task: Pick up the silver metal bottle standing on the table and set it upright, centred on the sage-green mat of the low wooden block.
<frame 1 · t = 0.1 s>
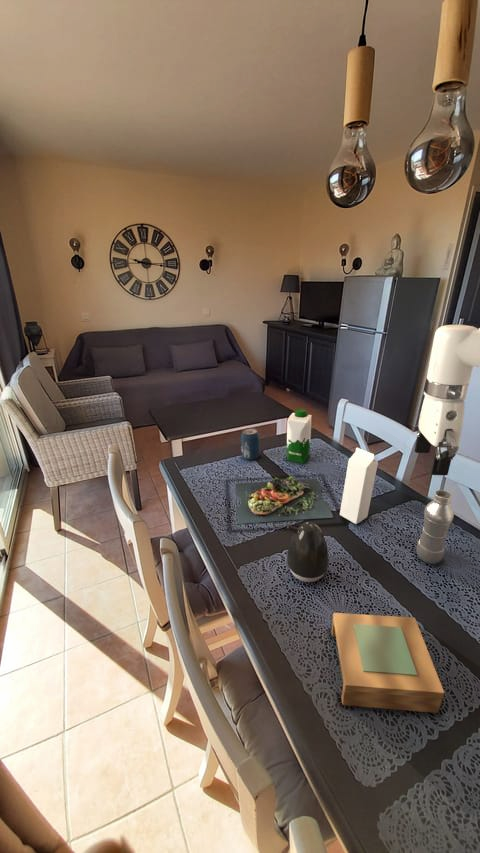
hand: (429, 462, 80), 30 cm above the table, tool pointing down, fingers open, 9 cm apart
silver metal bottle: (427, 558, 94), on the table
wooden block: (378, 669, 69), on the table
milk carton: (297, 459, 145), on the table
soda can: (250, 458, 146), on the table
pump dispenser: (306, 573, 91), on the table
plated dish: (280, 501, 119), on the table, touching milk
milk: (353, 516, 110), on the table, touching plated dish
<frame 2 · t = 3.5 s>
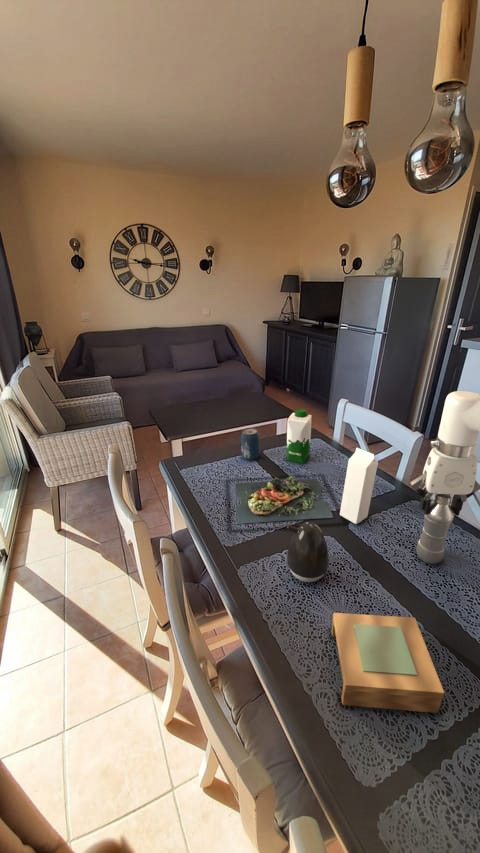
hand: (439, 511, 88), 15 cm above the table, tool pointing down, fingers closed on silver metal bottle, 6 cm apart
silver metal bottle: (427, 558, 94), on the table, touching gripper
everything else where it was.
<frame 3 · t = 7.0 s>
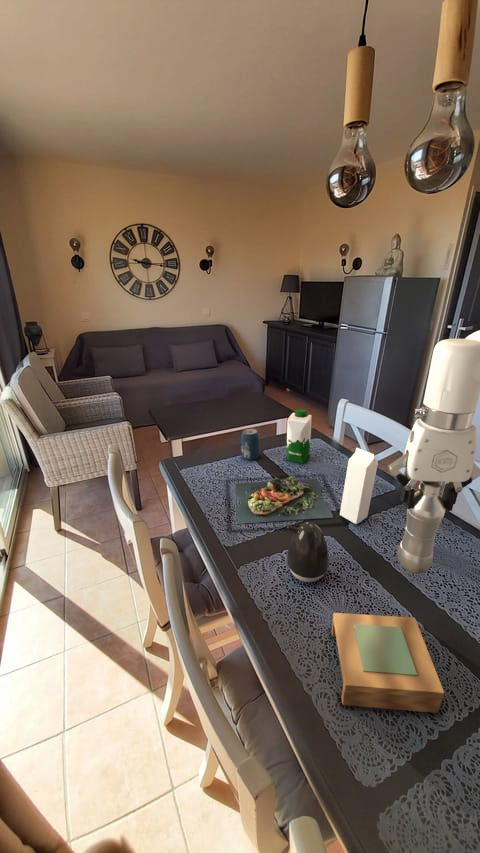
hand: (426, 504, 67), 30 cm above the table, tool pointing down, fingers closed on silver metal bottle, 6 cm apart
silver metal bottle: (412, 566, 73), point 15 cm above the table, touching gripper
everything else where it was.
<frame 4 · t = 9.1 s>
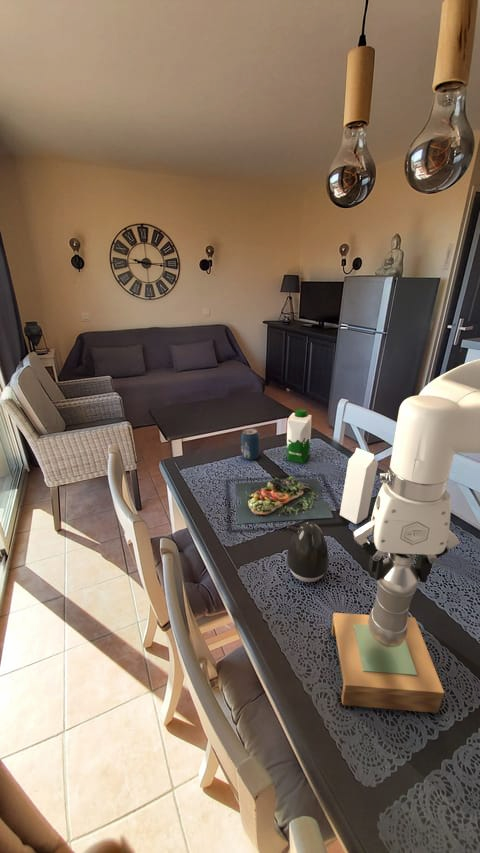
hand: (397, 573, 59), 24 cm above the table, tool pointing down, fingers closed on silver metal bottle, 6 cm apart
silver metal bottle: (385, 636, 65), point 9 cm above the table, touching gripper
everything else where it was.
when the fingers open (21 cm above the table, at t = 10.5 s): silver metal bottle stays where it is, resting on wooden block.
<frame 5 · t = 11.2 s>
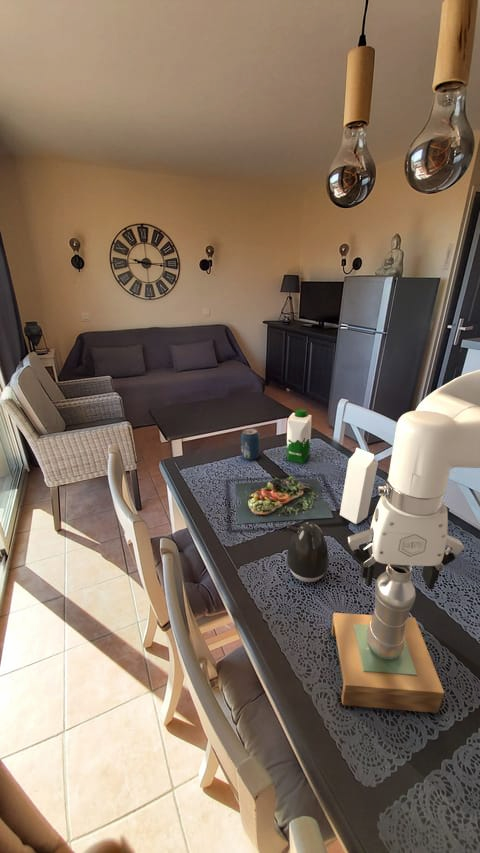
hand: (396, 580, 60), 23 cm above the table, tool pointing down, fingers open, 9 cm apart
silver metal bottle: (383, 647, 67), point 6 cm above the table, touching wooden block
everything else where it was.
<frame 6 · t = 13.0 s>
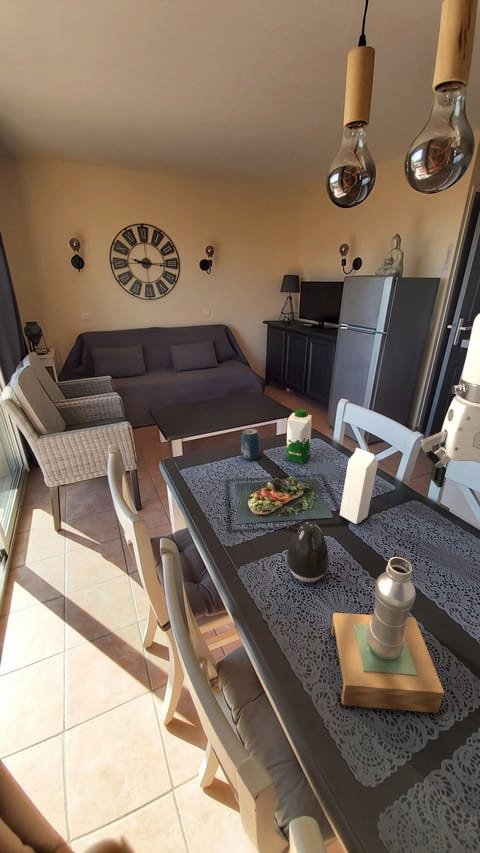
hand: (464, 483, 64), 35 cm above the table, tool pointing down, fingers open, 9 cm apart
nothing on the table moved.
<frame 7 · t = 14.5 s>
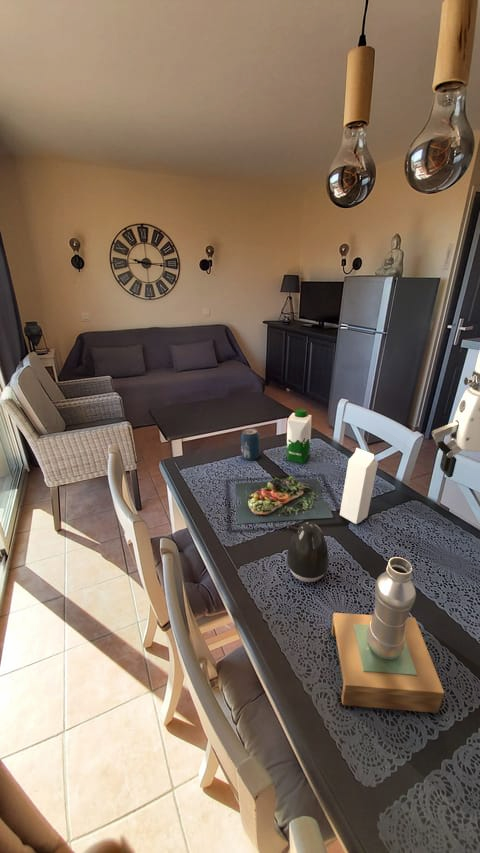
hand: (474, 474, 66), 35 cm above the table, tool pointing down, fingers open, 9 cm apart
nothing on the table moved.
at the end: silver metal bottle 0.1 cm off-centre on the wooden block, point 6.0 cm above the wooden block's base; silver metal bottle tilted 0°; the gripper is holding nothing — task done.
